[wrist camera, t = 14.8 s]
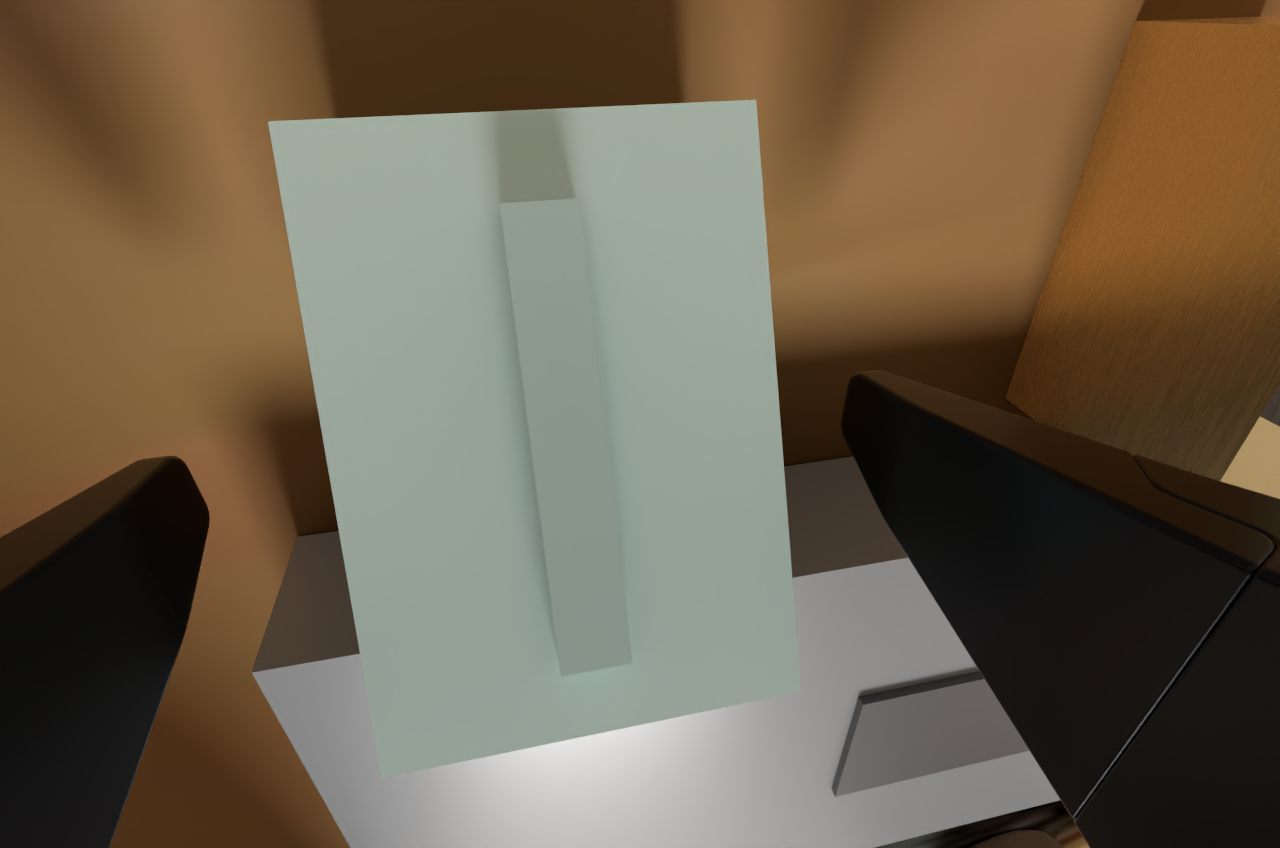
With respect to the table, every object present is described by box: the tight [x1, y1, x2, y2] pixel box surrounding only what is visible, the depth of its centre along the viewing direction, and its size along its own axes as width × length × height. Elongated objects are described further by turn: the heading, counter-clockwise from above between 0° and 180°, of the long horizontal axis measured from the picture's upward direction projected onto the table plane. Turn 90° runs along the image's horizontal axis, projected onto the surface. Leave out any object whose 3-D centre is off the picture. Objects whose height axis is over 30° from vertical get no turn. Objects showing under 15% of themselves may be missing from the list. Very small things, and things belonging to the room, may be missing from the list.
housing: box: [252, 457, 1060, 848], centre depth 16 cm, size 12×20×3 cm, turn 91°
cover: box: [268, 100, 801, 778], centre depth 8 cm, size 7×5×3 cm
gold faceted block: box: [1005, 17, 1280, 499], centre depth 10 cm, size 2×7×5 cm, turn 1°
